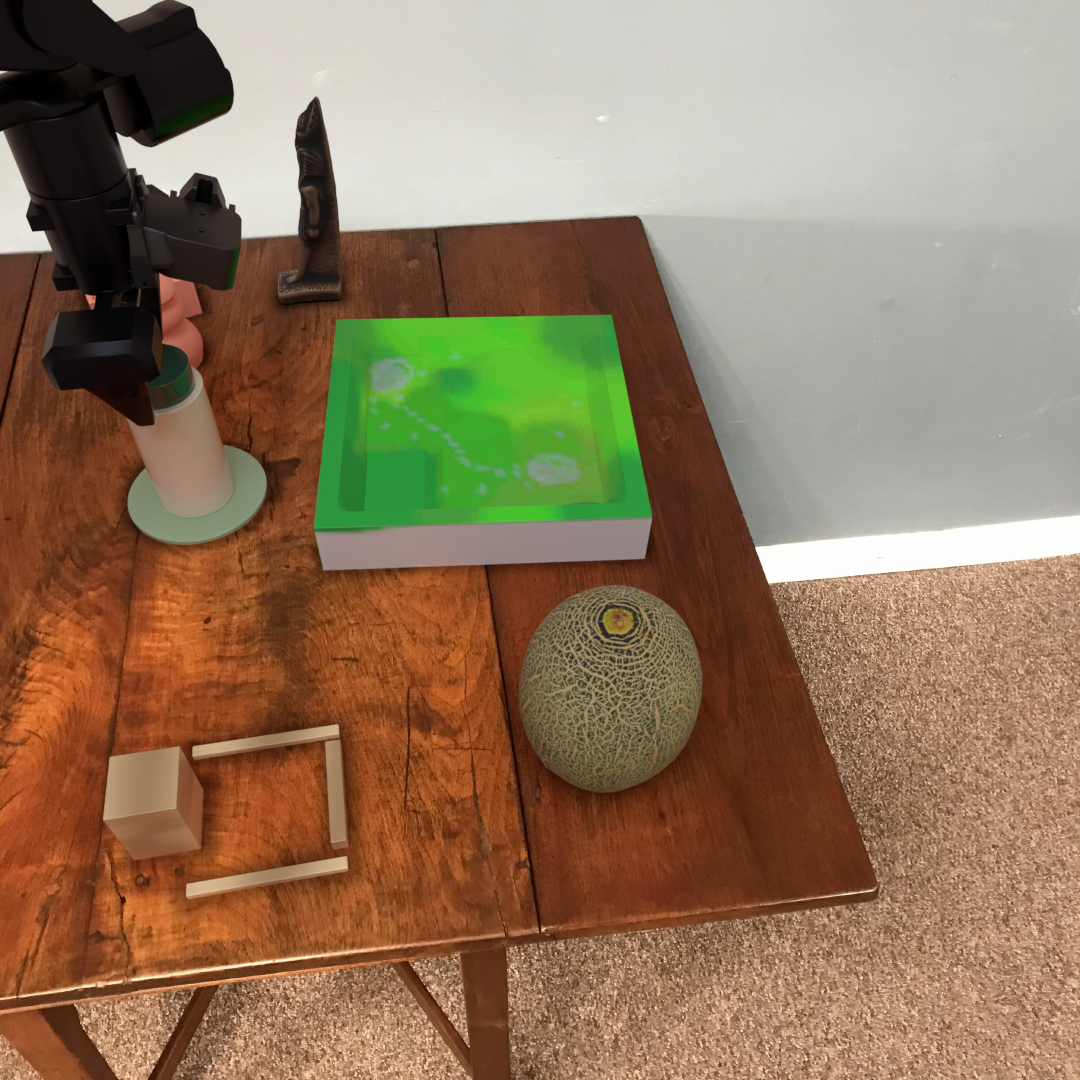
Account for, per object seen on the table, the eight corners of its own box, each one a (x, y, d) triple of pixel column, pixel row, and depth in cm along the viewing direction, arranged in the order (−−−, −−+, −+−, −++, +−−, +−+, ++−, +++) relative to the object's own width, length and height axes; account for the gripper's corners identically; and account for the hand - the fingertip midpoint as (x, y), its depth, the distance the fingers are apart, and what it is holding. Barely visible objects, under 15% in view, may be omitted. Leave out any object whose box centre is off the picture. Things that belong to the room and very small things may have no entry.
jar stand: (130, 910, 55) (96, 872, 51) (142, 758, 62) (114, 712, 57) (350, 871, 57) (337, 831, 53) (341, 727, 64) (328, 680, 59)
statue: (279, 283, 96) (238, 85, 81) (349, 278, 97) (322, 82, 82) (279, 308, 93) (237, 108, 78) (351, 302, 94) (323, 104, 79)
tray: (606, 358, 90) (611, 314, 86) (644, 559, 74) (652, 517, 70) (343, 363, 88) (336, 319, 84) (323, 571, 72) (313, 528, 68)
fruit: (531, 662, 67) (538, 525, 56) (687, 685, 67) (726, 552, 55) (503, 810, 60) (504, 688, 49) (677, 839, 59) (720, 721, 48)
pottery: (83, 290, 94) (47, 200, 87) (178, 266, 97) (151, 177, 90) (126, 396, 84) (89, 305, 77) (229, 366, 87) (204, 275, 80)
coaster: (143, 563, 72) (141, 559, 72) (117, 470, 78) (115, 466, 78) (284, 519, 75) (283, 515, 75) (248, 433, 82) (247, 429, 81)
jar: (44, 476, 68) (138, 365, 63) (55, 421, 72) (145, 311, 67) (204, 542, 77) (300, 448, 71) (207, 489, 81) (298, 396, 75)
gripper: (214, 252, 50) (268, 459, 62) (221, 95, 62) (265, 294, 74) (-7, 270, 49) (92, 478, 61) (43, 105, 61) (118, 307, 72)
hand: (151, 381), depth 67 cm, fingers open, 9 cm apart
